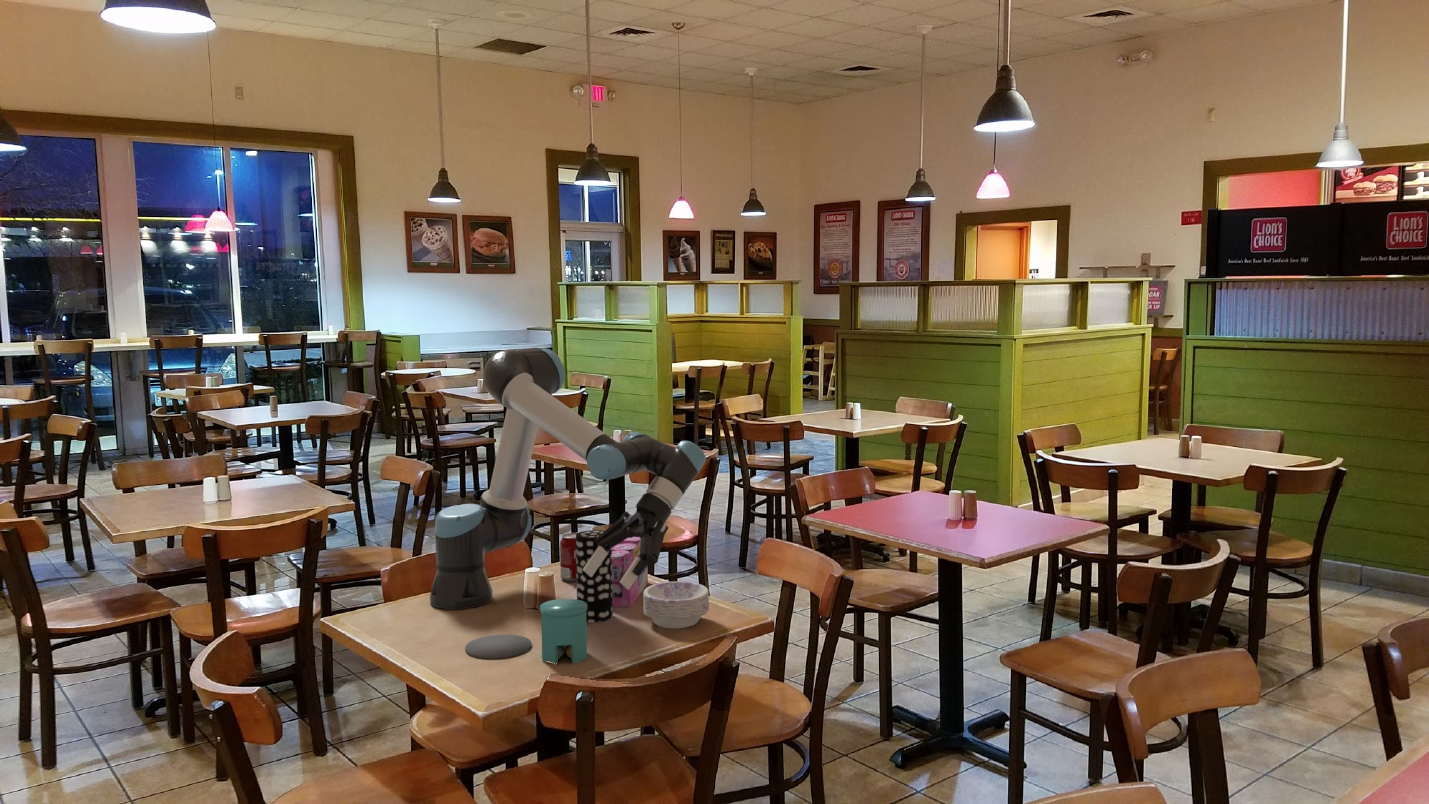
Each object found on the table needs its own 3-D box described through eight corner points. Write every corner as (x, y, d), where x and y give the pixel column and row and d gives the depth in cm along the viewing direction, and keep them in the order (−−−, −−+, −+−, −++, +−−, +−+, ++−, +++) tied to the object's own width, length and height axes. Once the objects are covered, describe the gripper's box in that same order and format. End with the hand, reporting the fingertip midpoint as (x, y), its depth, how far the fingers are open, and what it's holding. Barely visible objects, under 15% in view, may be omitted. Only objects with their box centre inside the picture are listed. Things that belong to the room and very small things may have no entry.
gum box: (629, 609, 250) (629, 554, 248) (597, 608, 251) (597, 553, 249) (648, 582, 273) (648, 532, 272) (619, 581, 274) (618, 531, 273)
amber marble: (563, 659, 215) (563, 645, 215) (569, 654, 218) (568, 641, 218) (577, 660, 214) (577, 646, 214) (582, 655, 217) (582, 642, 217)
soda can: (567, 583, 272) (567, 539, 271) (556, 578, 277) (555, 534, 276) (590, 579, 276) (589, 535, 275) (578, 574, 281) (577, 531, 280)
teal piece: (541, 649, 221) (540, 600, 220) (587, 647, 222) (586, 597, 221) (540, 666, 211) (539, 613, 210) (588, 663, 213) (587, 611, 212)
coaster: (453, 656, 217) (453, 653, 217) (483, 635, 231) (483, 632, 231) (515, 661, 214) (514, 658, 214) (541, 639, 228) (541, 636, 228)
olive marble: (555, 655, 218) (554, 641, 217) (560, 650, 220) (560, 637, 220) (568, 656, 217) (568, 642, 217) (573, 651, 220) (573, 638, 219)
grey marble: (546, 660, 215) (546, 646, 214) (552, 655, 217) (551, 641, 217) (560, 661, 214) (559, 647, 214) (565, 656, 217) (565, 642, 216)
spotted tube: (615, 612, 247) (614, 530, 245) (608, 623, 239) (607, 538, 237) (581, 611, 248) (580, 529, 246) (573, 621, 240) (572, 537, 238)
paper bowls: (648, 635, 230) (647, 601, 229) (639, 615, 245) (639, 582, 244) (714, 631, 233) (714, 597, 232) (702, 611, 248) (702, 579, 247)
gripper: (704, 520, 224) (650, 601, 215) (634, 503, 242) (582, 577, 234) (685, 499, 219) (630, 581, 211) (615, 484, 238) (562, 558, 230)
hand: (604, 579), depth 222 cm, fingers open, 13 cm apart
